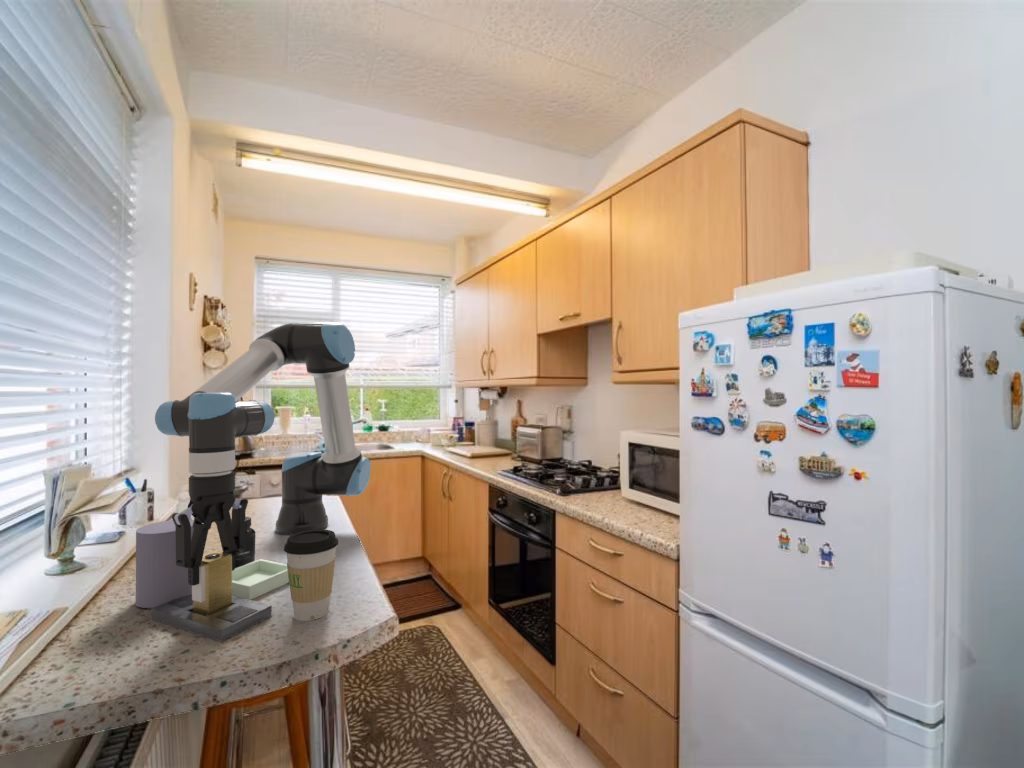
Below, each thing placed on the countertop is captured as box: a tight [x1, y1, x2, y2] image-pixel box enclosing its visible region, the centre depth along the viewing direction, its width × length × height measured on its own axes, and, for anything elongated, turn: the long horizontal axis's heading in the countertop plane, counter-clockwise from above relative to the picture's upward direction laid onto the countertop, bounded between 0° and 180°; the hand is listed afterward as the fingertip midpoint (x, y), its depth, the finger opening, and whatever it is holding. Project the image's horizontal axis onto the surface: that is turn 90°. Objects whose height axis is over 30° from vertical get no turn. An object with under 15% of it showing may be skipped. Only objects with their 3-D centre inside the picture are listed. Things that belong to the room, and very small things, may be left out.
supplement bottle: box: [230, 516, 256, 568], centre depth 114 cm, size 7×7×12 cm
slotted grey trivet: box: [150, 593, 273, 642], centre depth 90 cm, size 10×20×2 cm, turn 67°
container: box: [135, 519, 194, 610], centre depth 98 cm, size 10×10×15 cm
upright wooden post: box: [193, 550, 232, 616], centre depth 90 cm, size 4×4×10 cm
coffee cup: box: [283, 529, 339, 622], centre depth 91 cm, size 10×10×15 cm
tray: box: [232, 558, 289, 600], centre depth 105 cm, size 12×12×3 cm
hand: (212, 594), depth 90 cm, fingers closed on upright wooden post, 4 cm apart
